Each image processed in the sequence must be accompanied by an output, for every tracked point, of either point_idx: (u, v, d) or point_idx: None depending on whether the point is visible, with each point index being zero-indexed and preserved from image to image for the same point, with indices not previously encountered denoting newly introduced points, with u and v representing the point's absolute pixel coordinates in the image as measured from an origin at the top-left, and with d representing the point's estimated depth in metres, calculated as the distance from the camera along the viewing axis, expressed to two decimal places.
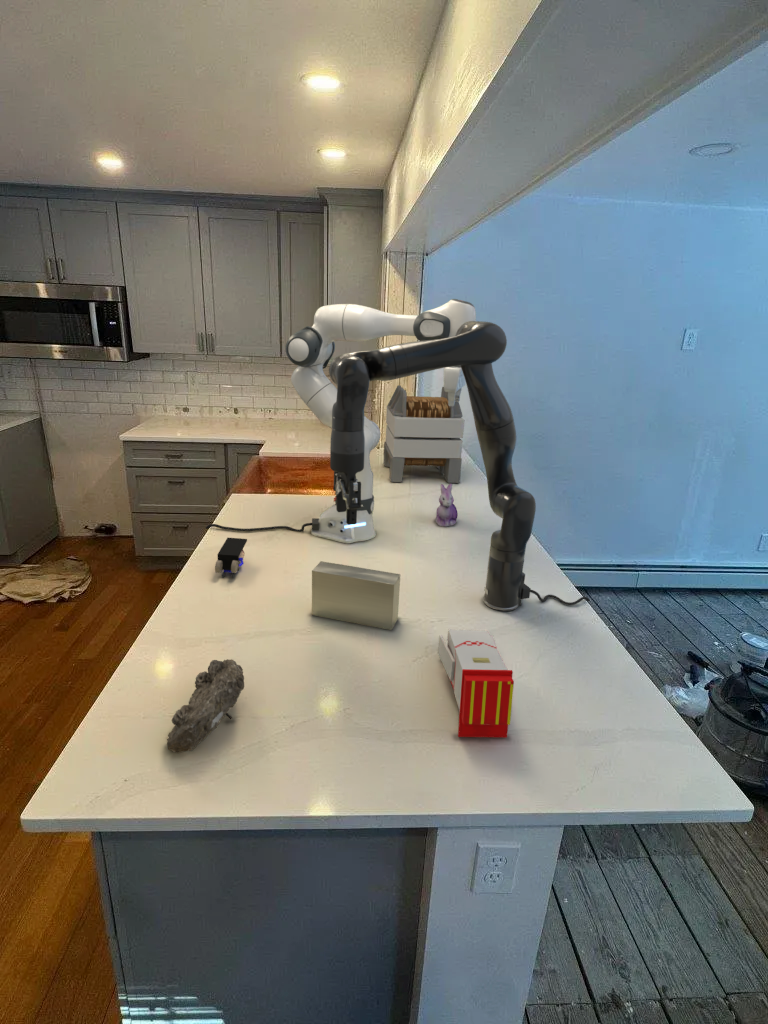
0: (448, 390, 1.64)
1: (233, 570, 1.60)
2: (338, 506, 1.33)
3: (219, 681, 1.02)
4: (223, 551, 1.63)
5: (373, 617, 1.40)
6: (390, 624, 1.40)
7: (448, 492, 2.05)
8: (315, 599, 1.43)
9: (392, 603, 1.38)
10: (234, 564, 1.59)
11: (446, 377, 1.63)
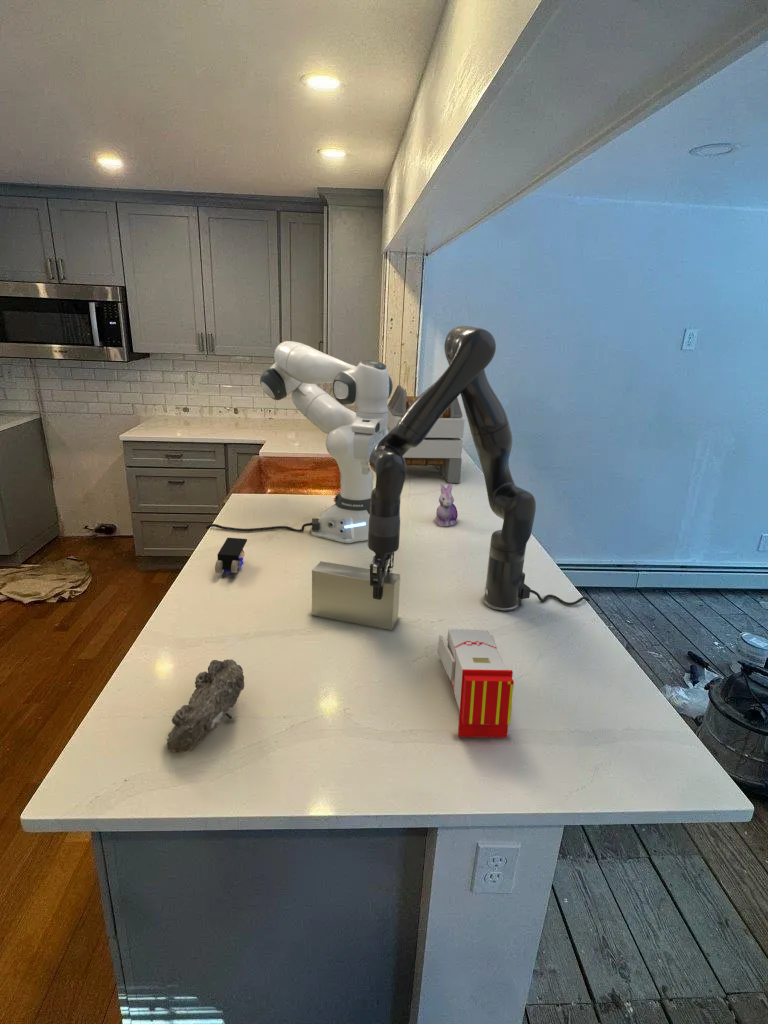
0: (359, 459, 1.51)
1: (233, 570, 1.60)
2: None
3: (219, 681, 1.02)
4: (223, 551, 1.63)
5: (373, 617, 1.40)
6: (390, 624, 1.40)
7: (448, 492, 2.05)
8: (315, 599, 1.43)
9: (392, 603, 1.38)
10: (234, 564, 1.59)
11: (356, 445, 1.50)
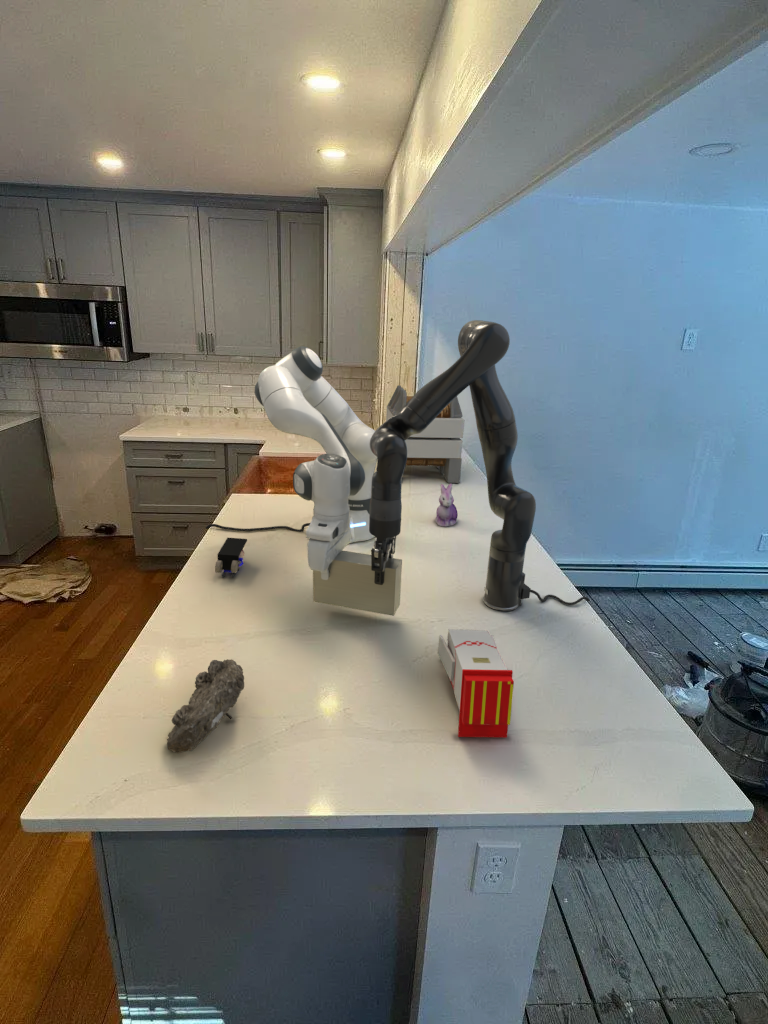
0: (314, 569, 1.33)
1: (233, 570, 1.60)
2: None
3: (219, 681, 1.02)
4: (223, 551, 1.63)
5: (375, 603, 1.39)
6: (392, 610, 1.38)
7: (448, 492, 2.05)
8: (316, 585, 1.42)
9: (394, 588, 1.36)
10: (234, 564, 1.59)
11: (311, 554, 1.31)
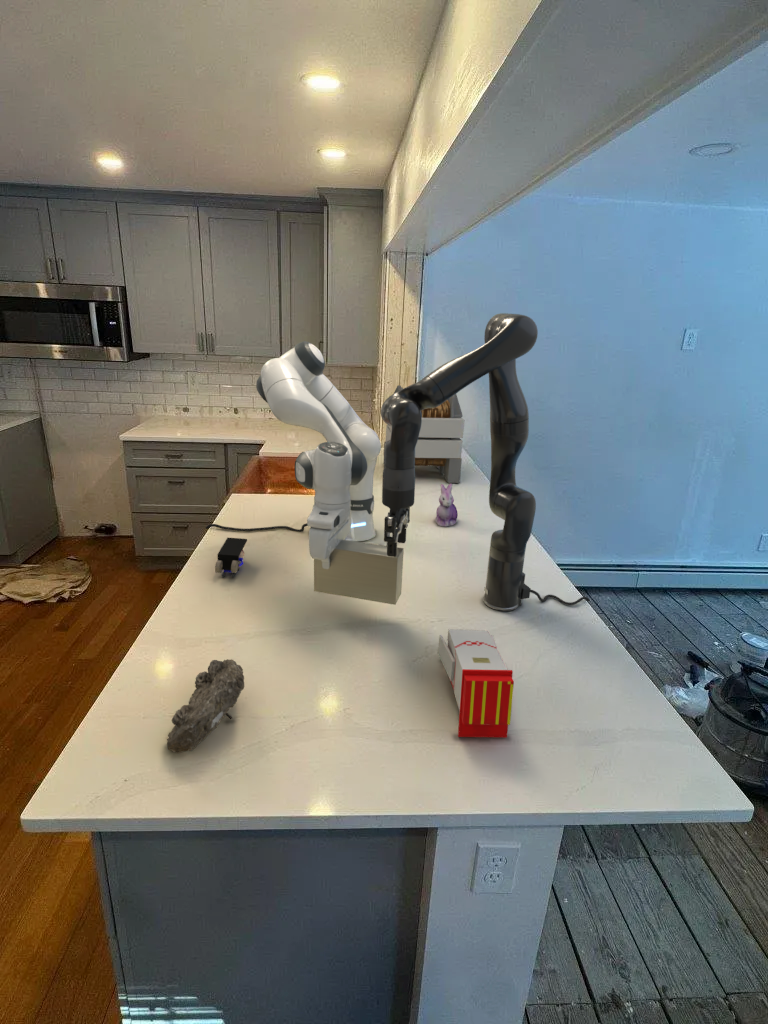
0: (315, 558, 1.32)
1: (233, 570, 1.60)
2: (397, 537, 1.39)
3: (219, 681, 1.02)
4: (223, 551, 1.63)
5: (376, 592, 1.38)
6: (394, 598, 1.38)
7: (448, 492, 2.05)
8: (317, 574, 1.41)
9: (396, 577, 1.36)
10: (234, 564, 1.59)
11: (312, 542, 1.31)
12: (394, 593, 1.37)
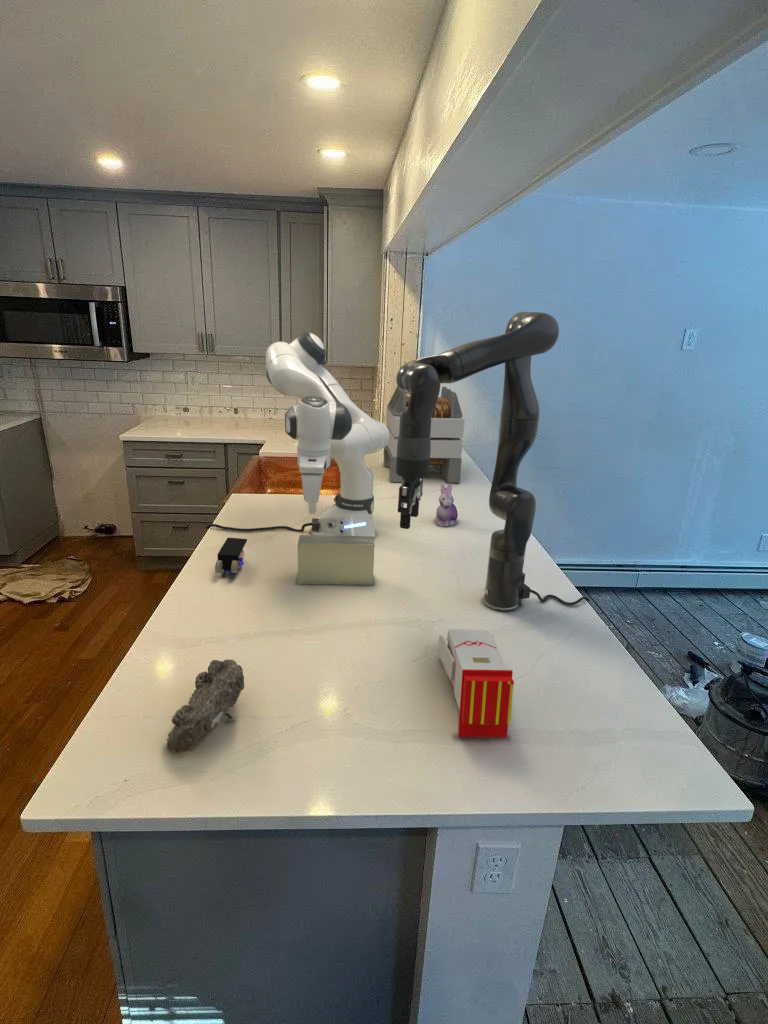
0: (309, 501, 1.46)
1: (233, 570, 1.60)
2: None
3: (219, 681, 1.02)
4: (223, 551, 1.63)
5: (355, 576, 1.61)
6: (371, 580, 1.62)
7: (448, 492, 2.05)
8: (301, 568, 1.59)
9: (373, 561, 1.60)
10: (234, 564, 1.59)
11: (306, 487, 1.44)
12: (371, 575, 1.61)
